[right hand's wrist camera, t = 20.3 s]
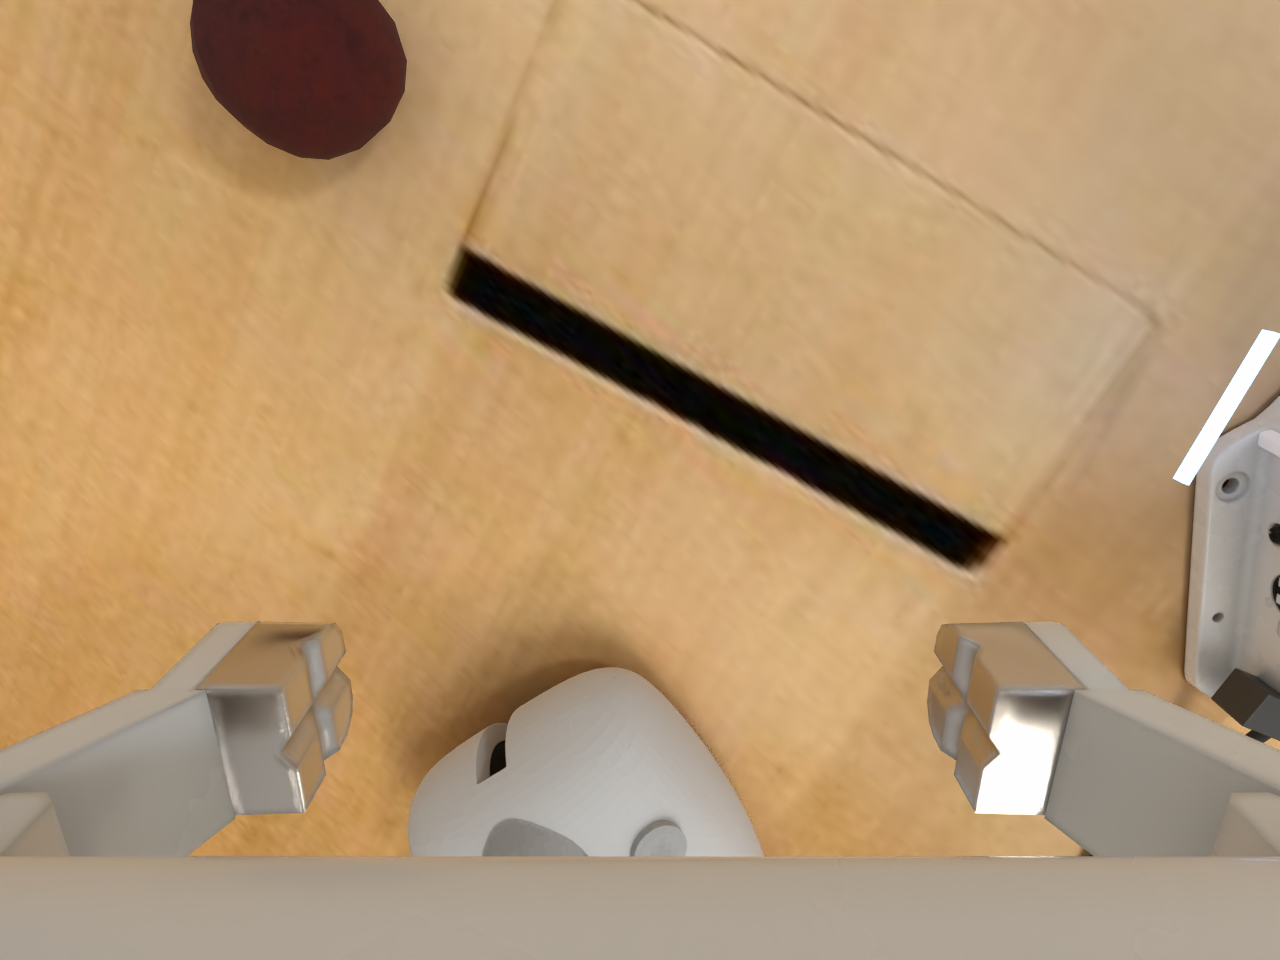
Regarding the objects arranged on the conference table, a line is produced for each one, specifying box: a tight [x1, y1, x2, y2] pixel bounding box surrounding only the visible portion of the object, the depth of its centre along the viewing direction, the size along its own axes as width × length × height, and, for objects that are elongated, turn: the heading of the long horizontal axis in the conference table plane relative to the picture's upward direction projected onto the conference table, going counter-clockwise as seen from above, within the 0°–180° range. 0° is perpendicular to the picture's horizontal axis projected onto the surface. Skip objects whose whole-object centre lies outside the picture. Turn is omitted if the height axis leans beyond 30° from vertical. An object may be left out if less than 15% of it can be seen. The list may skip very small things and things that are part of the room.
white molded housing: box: [408, 667, 764, 856], centre depth 40 cm, size 22×23×15 cm
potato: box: [190, 0, 407, 160], centre depth 30 cm, size 7×8×7 cm
